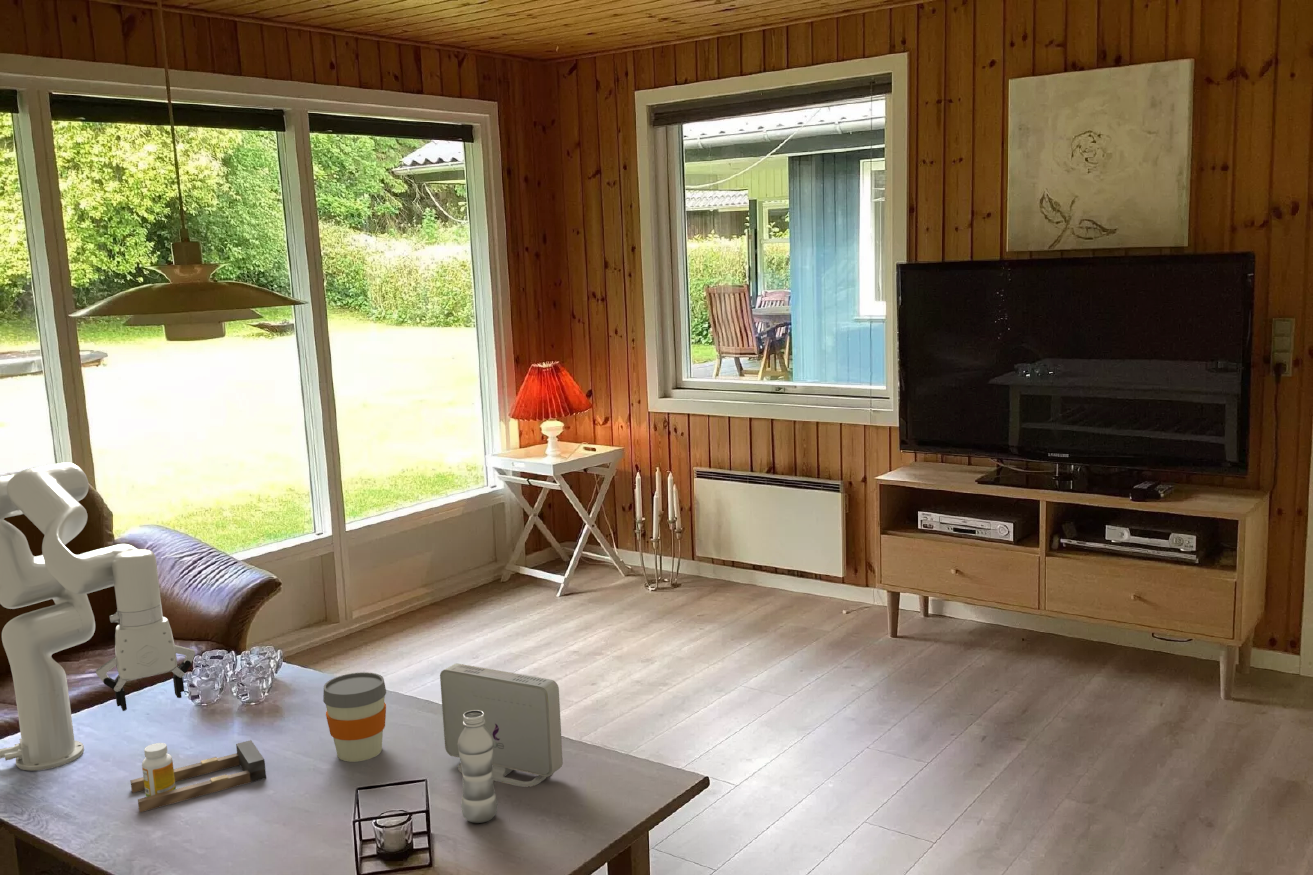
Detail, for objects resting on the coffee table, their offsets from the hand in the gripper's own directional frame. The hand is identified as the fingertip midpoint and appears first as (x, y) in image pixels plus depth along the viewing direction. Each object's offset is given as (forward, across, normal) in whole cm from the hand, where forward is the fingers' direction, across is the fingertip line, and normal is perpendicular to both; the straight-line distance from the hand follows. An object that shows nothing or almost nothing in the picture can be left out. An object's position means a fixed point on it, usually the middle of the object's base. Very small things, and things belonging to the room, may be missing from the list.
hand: (151, 702), depth 213 cm
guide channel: (+19, +7, 0) cm, 20 cm away
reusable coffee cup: (+19, +37, -4) cm, 42 cm away
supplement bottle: (+19, 0, 0) cm, 19 cm away
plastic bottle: (+20, +46, -46) cm, 68 cm away
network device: (+20, +58, -30) cm, 68 cm away
